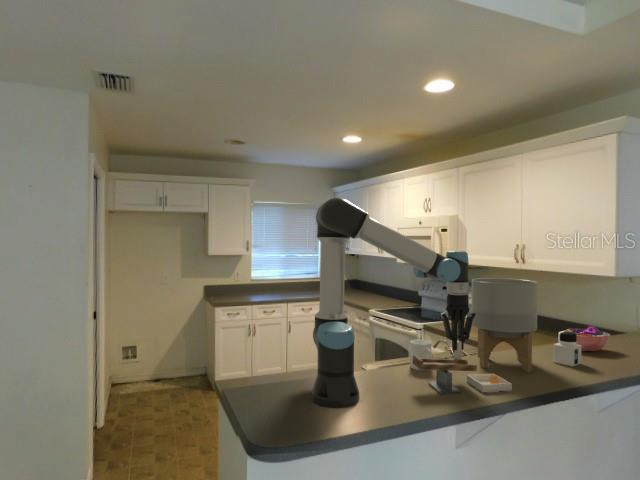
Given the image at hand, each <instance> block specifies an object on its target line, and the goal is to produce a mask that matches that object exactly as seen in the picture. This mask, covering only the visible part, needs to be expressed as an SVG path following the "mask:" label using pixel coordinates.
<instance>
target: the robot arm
mask: <svg viewBox="0 0 640 480" xmlns="http://www.w3.org/2000/svg"><path fill="white" fill-rule="evenodd" d="M315 221H316V227H317V229H316V232H317V233H316V239H317V240H318V241H319V242H320V273H319V278H320V279H319V304H318V305H319V306H318V307H319V310H318V311H317V312H316V313H315V314H314V328H313V331H312V339H313V342H314V345H315V346H316V349H317V351H316V352H317V372H316V373H317V374H316V378H315V380H314V383H313V387H312V389H311V399H312V400H311V401H313V402H314V403H316V404H317V405H319V406H321V407H322V406H323V407H327V408H344V407H345V408H348V407H351V406H353V405H356V404H357V403H358V402H360V391H359V386H358V383H357V381H356V380H357V379H356V378H355V339H356V338H355V337H356V336H355V331H354V328H353V327H352V325H350V324H349V322H348V318H349V317H348V315H347V313H346V312H345V311H344V310H345V309H344V307H345V273H346V270H345V269H346V244H347V243H348V242H349V240H351V239H353V240H355V239H359V240H361V241H363V242H366V243H368V244H369V245H371V246H374V247H376V248H378V249H379V250H381V251H383V252H385V253H386V254H389V255H391V256H392V257H395V258H396V259H399V260H400V261H403V262H405V263H406V264H408V265H410V266H412V268H413V269H412V270H413V274H414V277H416V278H420V279H433V280H438V281H440V282H443V283H446V293H447V294H446V308H445V311H443V312H440V313H439V316H440V317H441V319H442V323H443V327H444V332H445V335H446V338H447V339H448V340H450V341H451V348H452V350H453V351H454V352H453V353H454V355H453V358H455V359H457V360H463V359H462V357H463V355H462V352H463V351H464V349H465V347H464V344H465V342H466V341H467V340H469V338H470V336H471V335H470V334H471V331H472V327H473V325H472V322H473V319H474V317H475V315H476V314H475V313H473V312H472V310H470V307H469V303H470V302H469V295H468V294H469V264H470V263H469V254H468V252H467V251H464V250H448V251H446V254H445V256H444V255H442V254H440V253H438V252H436V251H434V250H432V249H431V248H428V247H427V246H425V245H423V244H421V243H419V242H417V241H415V240H413V239H411V238H409V237H408V236H406V235H405V234H402V233H400V232H399V231H397V230H394V229H393V228H391V227H389V226H387V225H385V224H383V223H382V222H379V221H378V220H376V219H374V218H372V217H371V216H370V215H369V213H368V212H367V211H365V210H364V209H362V208H361V207H359V206H357V205H355V204H353V203H352V202H351V201H349V200H348V199H345V198H342V197H333V198H330V199H328V200H326V201H324V203H322V204H320V206H319V207H318V209H317V212H316V216H315ZM449 318H450V320H449ZM450 321H451V322H450ZM450 323H451V324H450Z"/></svg>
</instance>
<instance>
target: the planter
mask: <svg viewBox="0 0 640 480" xmlns="http://www.w3.org/2000/svg"><path fill="white" fill-rule="evenodd" d="M471 312H473V313H475V314H476V315H475V317H474V319H473V322H472V327H475V328H477V357H478V358H479V367H480V368H482V369H486V368H489V361H490V358H491V354H492V352H493V350H494V349H495V348H496V346H498V345H499V344H500V343H503V342H504V343H506V344H508V345H509V346H511V347H512V348H513V349H514V351H515V352H516V357H517V359H516V360H517V361H520V362H521V366H522V371H523V372H527V373H531V372H533V371H532V370H533V364H532V363H533V362H532V361H533V359H532V358H533V333H532V332H535V331H537V330H538V281H535V280H529V279H522V278H508V277H507V278H504V277H503V278H502V277H499V278H498V277H479V278H472V279H471Z"/></svg>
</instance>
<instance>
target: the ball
mask: <svg viewBox="0 0 640 480" xmlns="http://www.w3.org/2000/svg"><path fill="white" fill-rule="evenodd" d="M497 376H498V375H497ZM497 376H495V375H492V376H490V377H489V382H490V383H491V384H498V382H499V379H498V377H497Z"/></svg>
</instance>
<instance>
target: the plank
mask: <svg viewBox="0 0 640 480" xmlns="http://www.w3.org/2000/svg"><path fill="white" fill-rule="evenodd" d="M413 364H414V365H415V366H416V367H417V368H419V369H420V370H425V371H436V370H447V371H449V372H450V371H452V372H453V371H454V372H456V371H458V372H477V371H478V365H476V364H470V363H469V361H468V359H462V360H457V359H455V358H454V357H450V356H447V357H445V358H433V359H426V358H418V357H417V356H416V355H413ZM420 370H419V371H420Z"/></svg>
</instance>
